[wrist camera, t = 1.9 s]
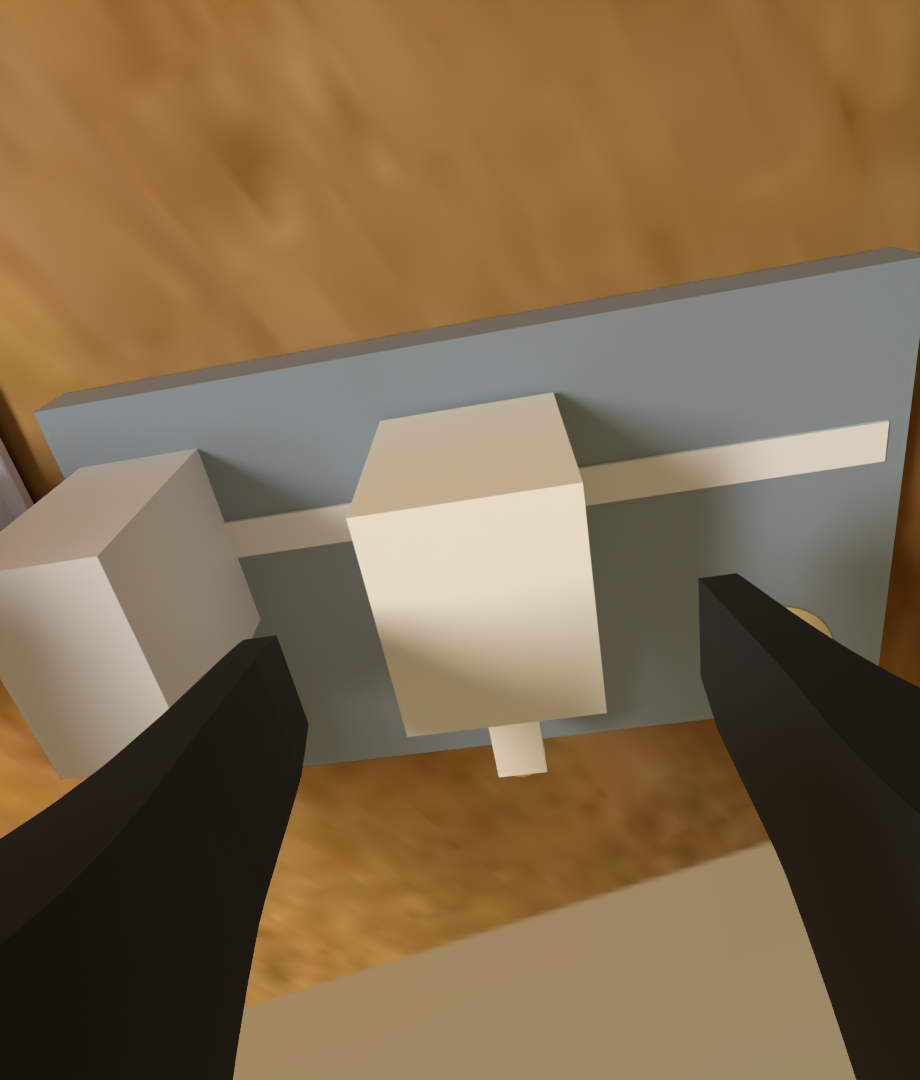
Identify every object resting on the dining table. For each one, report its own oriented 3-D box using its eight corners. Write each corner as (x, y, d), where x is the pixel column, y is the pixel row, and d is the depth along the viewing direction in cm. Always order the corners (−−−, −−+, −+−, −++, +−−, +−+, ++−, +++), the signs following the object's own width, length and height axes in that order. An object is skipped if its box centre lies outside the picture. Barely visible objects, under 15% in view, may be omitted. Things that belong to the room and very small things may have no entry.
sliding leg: (449, 713, 21) (443, 864, 16) (380, 420, 17) (345, 518, 12) (588, 695, 20) (620, 846, 16) (553, 392, 16) (583, 482, 12)
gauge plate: (221, 743, 24) (137, 939, 18) (64, 393, 18) (-132, 510, 12) (850, 666, 22) (990, 857, 16) (892, 247, 16) (1131, 302, 10)
